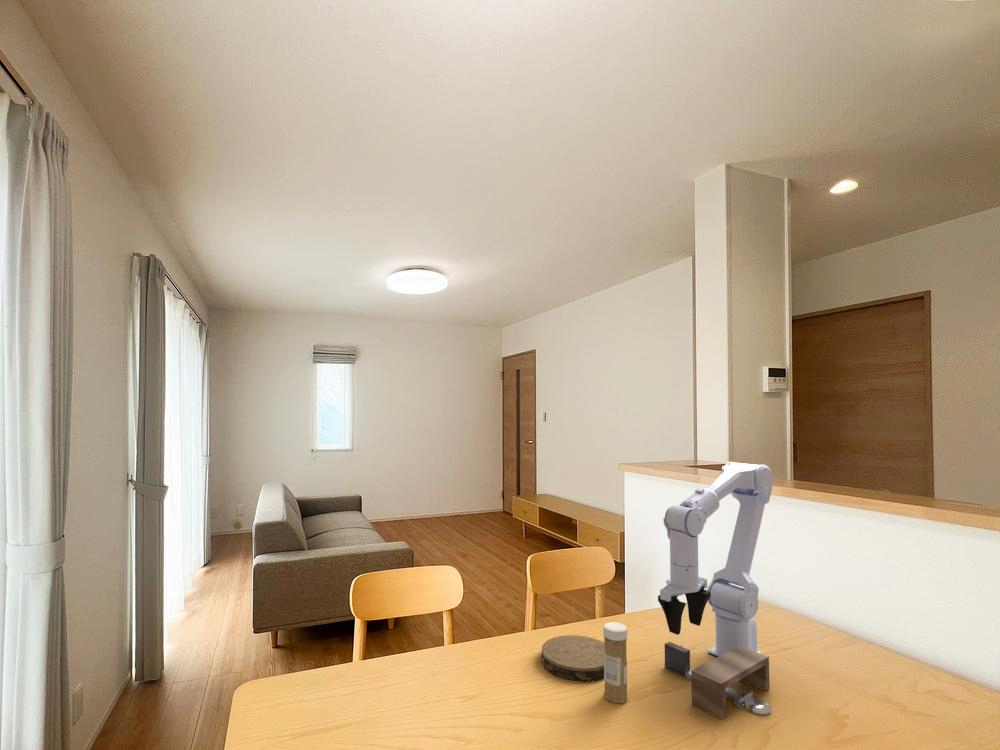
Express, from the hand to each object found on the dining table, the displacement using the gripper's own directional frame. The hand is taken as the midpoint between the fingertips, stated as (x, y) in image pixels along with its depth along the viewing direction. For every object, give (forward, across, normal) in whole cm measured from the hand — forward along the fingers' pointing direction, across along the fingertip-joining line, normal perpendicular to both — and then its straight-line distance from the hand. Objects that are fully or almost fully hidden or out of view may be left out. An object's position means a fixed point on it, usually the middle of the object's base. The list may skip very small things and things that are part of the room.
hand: (685, 628), depth 109 cm
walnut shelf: (+9, 0, +10) cm, 14 cm away
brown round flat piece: (+10, +15, -17) cm, 25 cm away
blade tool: (+9, 0, +4) cm, 10 cm away
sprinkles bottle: (+10, +19, -3) cm, 22 cm away
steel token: (+10, 0, +15) cm, 18 cm away
